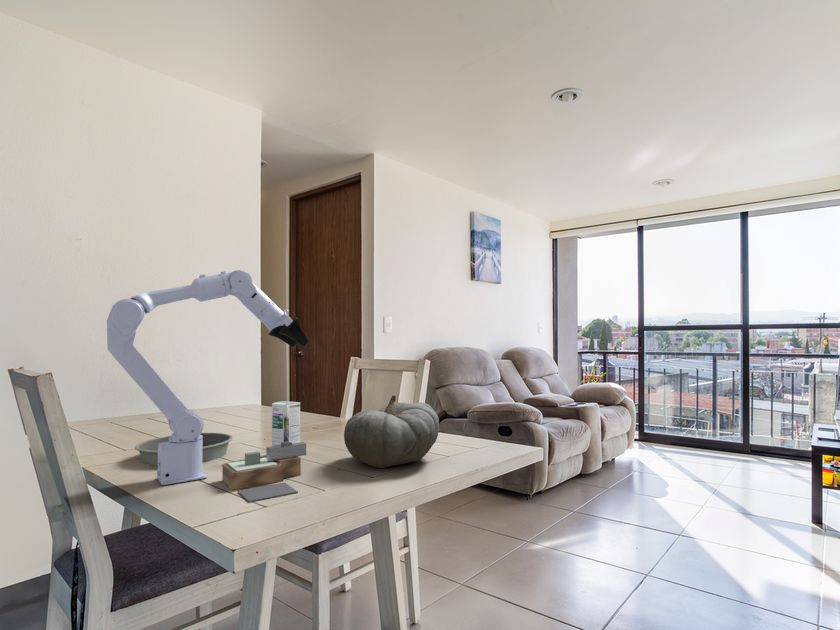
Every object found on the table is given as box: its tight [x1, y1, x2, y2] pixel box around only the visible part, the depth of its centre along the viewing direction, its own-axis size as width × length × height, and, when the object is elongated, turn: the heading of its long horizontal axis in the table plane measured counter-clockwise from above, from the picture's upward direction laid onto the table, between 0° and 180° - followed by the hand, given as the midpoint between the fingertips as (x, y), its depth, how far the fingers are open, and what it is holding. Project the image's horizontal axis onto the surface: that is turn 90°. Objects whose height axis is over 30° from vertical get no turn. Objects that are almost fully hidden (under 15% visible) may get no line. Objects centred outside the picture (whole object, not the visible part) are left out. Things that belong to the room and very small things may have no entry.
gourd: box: [343, 395, 440, 469], centre depth 129 cm, size 25×25×17 cm
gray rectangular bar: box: [265, 441, 307, 461], centre depth 118 cm, size 9×2×3 cm, turn 125°
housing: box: [221, 456, 302, 491], centre depth 114 cm, size 16×10×4 cm, turn 125°
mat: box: [238, 481, 299, 503], centre depth 104 cm, size 10×8×1 cm
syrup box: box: [271, 400, 301, 446], centre depth 138 cm, size 6×6×14 cm
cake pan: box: [134, 432, 234, 467], centre depth 138 cm, size 25×25×4 cm
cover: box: [227, 451, 278, 472], centre depth 113 cm, size 9×8×3 cm
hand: (300, 343), depth 132 cm, fingers open, 7 cm apart
